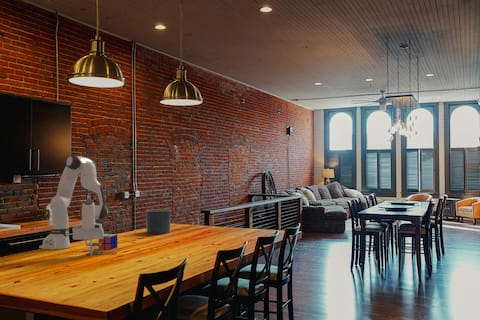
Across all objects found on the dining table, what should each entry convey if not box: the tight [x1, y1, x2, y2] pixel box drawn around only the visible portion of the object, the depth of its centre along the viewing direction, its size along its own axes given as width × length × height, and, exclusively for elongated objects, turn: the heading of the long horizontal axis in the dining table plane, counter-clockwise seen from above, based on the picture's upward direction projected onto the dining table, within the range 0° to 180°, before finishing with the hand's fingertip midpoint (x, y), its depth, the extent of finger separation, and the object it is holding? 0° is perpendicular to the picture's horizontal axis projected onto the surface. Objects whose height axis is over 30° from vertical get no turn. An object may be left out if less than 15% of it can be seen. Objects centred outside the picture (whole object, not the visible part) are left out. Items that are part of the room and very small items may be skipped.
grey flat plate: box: [85, 251, 118, 257], centre depth 304 cm, size 20×12×1 cm, turn 102°
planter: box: [145, 208, 172, 235], centre depth 405 cm, size 22×22×20 cm
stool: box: [89, 242, 103, 256], centre depth 303 cm, size 7×7×7 cm
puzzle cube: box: [98, 233, 118, 251], centre depth 325 cm, size 10×10×10 cm
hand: (88, 245), depth 302 cm, fingers closed
